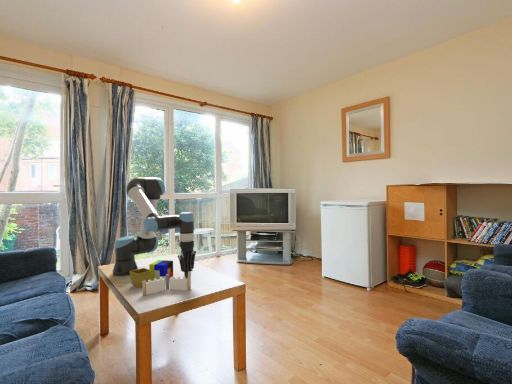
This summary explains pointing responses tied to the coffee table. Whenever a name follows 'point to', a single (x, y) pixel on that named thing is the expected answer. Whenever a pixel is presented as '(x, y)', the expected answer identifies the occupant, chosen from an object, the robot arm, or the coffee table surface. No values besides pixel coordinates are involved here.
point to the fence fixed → (155, 285)
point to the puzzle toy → (161, 269)
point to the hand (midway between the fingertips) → (187, 283)
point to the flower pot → (140, 276)
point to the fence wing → (180, 283)
